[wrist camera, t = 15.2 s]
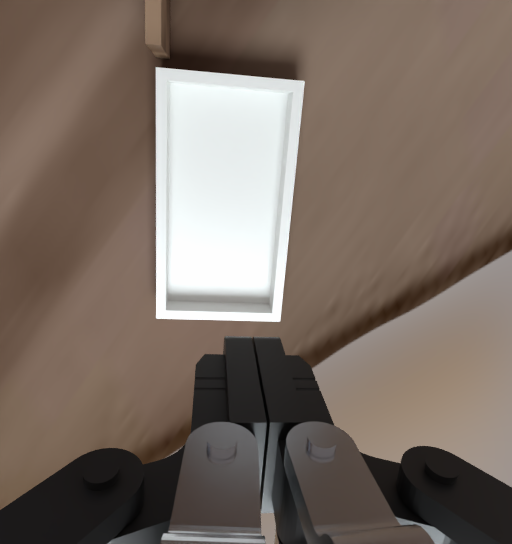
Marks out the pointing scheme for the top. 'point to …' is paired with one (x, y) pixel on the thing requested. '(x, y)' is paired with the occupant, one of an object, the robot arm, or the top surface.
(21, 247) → the top surface
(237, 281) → the tray
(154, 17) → the bay
